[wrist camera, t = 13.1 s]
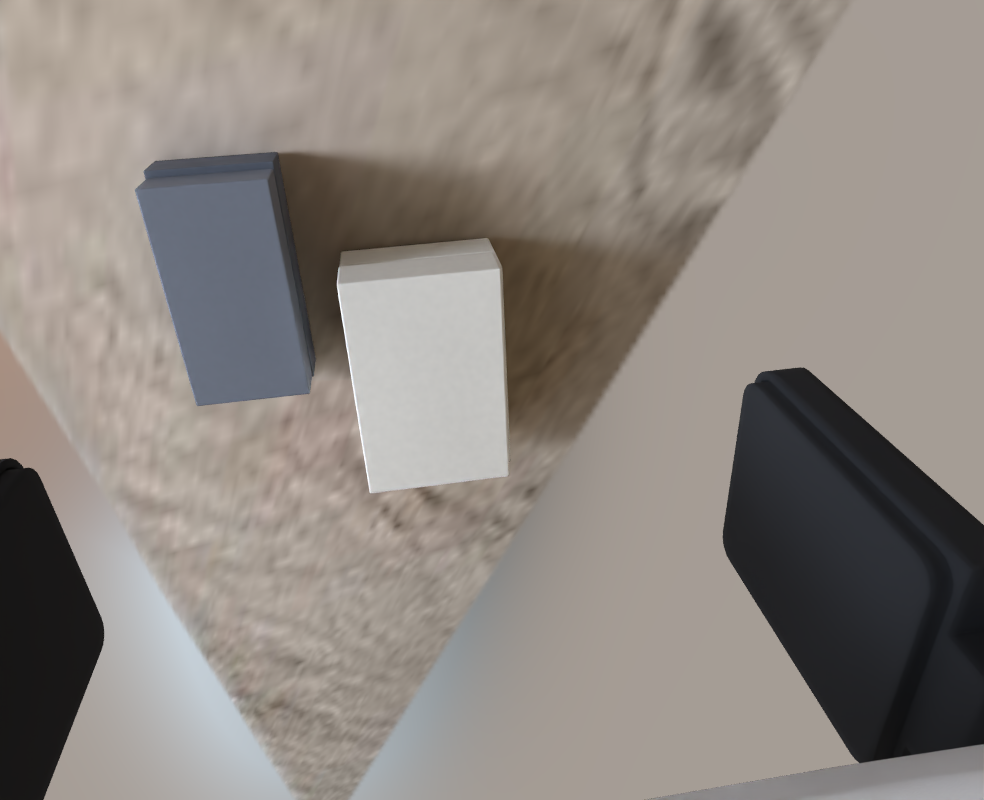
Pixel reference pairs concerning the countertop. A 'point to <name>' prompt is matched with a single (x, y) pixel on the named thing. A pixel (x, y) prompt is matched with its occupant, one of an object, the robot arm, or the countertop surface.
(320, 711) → the countertop surface
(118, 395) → the countertop surface
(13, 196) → the countertop surface
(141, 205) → the grey books
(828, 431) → the robot arm
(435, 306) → the white book
